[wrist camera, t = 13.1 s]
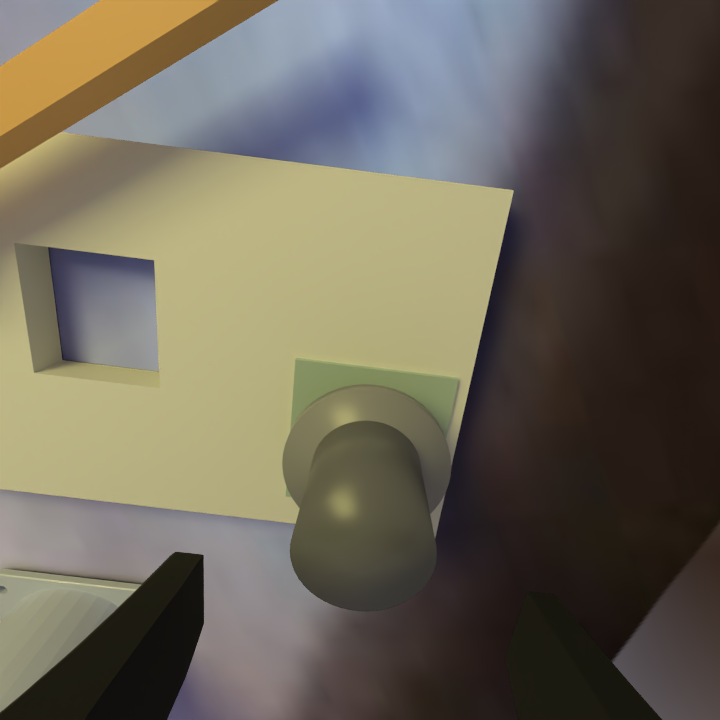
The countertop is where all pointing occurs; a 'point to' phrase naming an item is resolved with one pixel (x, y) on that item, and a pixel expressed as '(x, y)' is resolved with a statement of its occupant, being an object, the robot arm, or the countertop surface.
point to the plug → (365, 495)
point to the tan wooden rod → (102, 61)
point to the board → (230, 314)
